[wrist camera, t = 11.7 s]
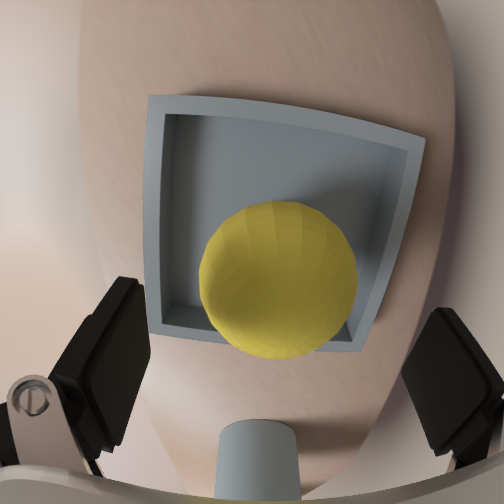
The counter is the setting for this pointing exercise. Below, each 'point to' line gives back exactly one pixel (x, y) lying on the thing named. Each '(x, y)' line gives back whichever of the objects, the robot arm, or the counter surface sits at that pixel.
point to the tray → (267, 196)
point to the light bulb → (278, 279)
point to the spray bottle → (258, 462)
